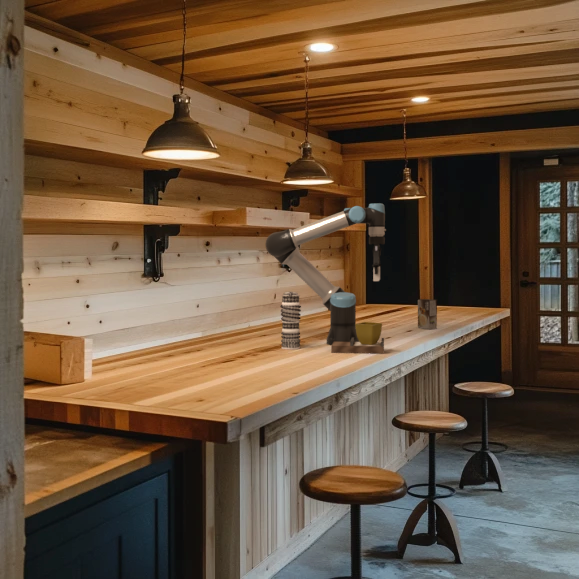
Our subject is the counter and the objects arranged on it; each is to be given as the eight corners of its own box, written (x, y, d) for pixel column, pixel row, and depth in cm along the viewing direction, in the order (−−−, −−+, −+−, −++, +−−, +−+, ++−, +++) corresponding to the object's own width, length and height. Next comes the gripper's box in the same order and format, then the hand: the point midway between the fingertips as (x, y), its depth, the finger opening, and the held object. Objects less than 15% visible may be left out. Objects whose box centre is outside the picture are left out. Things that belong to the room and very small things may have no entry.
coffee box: (437, 328, 406) (437, 299, 405) (429, 329, 402) (429, 300, 401) (424, 327, 413) (425, 298, 412) (417, 328, 409) (417, 299, 408)
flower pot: (373, 346, 311) (373, 324, 310) (354, 344, 316) (354, 323, 315) (382, 343, 318) (382, 323, 318) (364, 342, 323) (364, 321, 323)
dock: (331, 352, 314) (331, 341, 313) (333, 348, 328) (333, 337, 327) (383, 353, 311) (383, 341, 310) (383, 349, 325) (384, 337, 324)
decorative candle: (288, 350, 322) (288, 292, 320) (276, 347, 329) (276, 291, 328) (305, 348, 327) (305, 292, 326) (292, 346, 335) (292, 291, 333)
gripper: (384, 235, 340) (384, 281, 341) (385, 236, 364) (385, 279, 366) (367, 235, 341) (367, 281, 342) (370, 236, 366) (370, 279, 367)
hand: (376, 280), depth 354 cm, fingers open, 13 cm apart
